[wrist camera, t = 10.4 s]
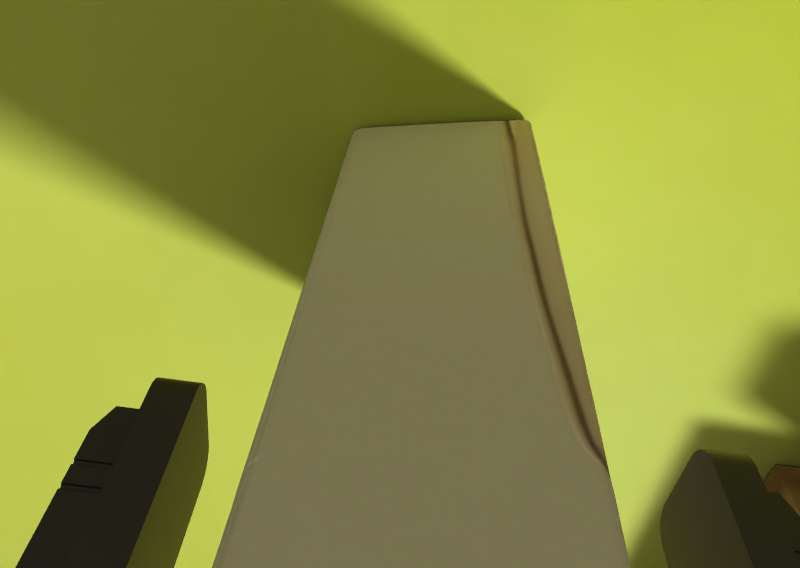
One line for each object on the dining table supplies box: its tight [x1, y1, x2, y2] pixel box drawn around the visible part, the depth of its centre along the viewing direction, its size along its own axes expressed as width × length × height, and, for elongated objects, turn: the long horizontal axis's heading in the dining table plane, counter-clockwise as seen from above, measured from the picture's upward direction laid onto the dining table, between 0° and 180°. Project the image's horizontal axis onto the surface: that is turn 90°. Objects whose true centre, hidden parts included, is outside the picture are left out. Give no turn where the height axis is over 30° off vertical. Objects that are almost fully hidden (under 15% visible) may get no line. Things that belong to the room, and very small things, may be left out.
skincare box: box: [212, 120, 630, 568], centre depth 13 cm, size 6×4×12 cm
